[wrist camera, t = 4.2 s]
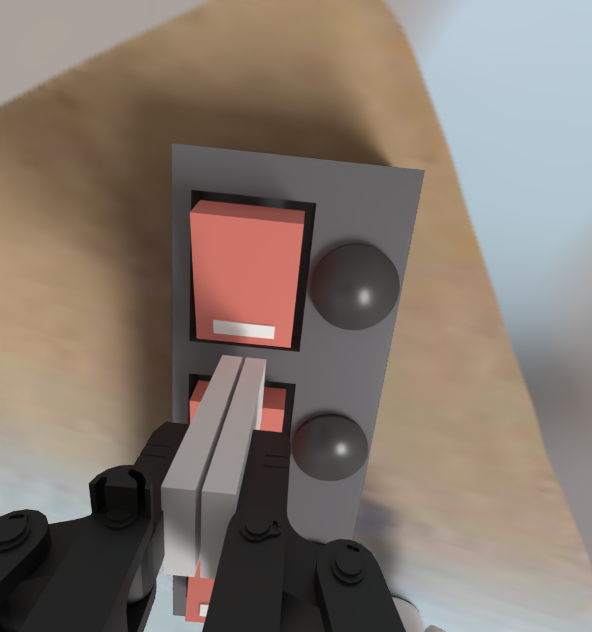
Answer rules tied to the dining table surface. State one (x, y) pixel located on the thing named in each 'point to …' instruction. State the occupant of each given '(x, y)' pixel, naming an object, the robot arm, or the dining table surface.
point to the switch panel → (306, 314)
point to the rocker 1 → (198, 597)
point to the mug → (412, 618)
